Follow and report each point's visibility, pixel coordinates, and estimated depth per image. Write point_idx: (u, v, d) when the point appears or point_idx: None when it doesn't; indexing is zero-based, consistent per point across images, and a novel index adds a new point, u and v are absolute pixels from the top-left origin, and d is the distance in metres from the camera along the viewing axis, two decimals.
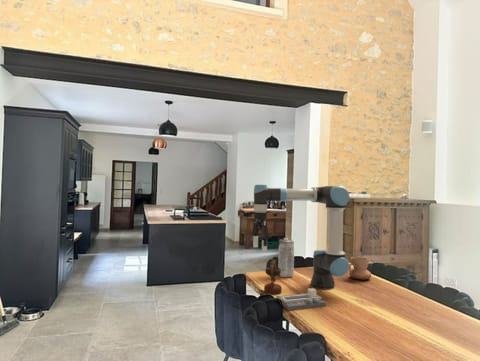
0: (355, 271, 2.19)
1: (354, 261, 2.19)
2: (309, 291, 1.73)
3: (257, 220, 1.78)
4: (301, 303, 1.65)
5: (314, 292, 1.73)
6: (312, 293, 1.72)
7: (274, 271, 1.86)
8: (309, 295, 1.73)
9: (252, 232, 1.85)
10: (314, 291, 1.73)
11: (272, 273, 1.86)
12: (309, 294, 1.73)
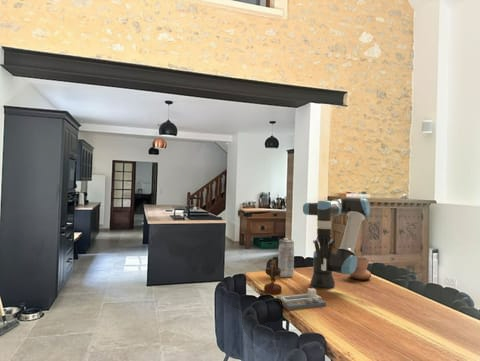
0: (355, 271, 2.19)
1: None
2: (309, 291, 1.73)
3: None
4: (301, 303, 1.65)
5: (314, 292, 1.73)
6: (312, 293, 1.72)
7: (274, 271, 1.86)
8: (309, 295, 1.73)
9: None
10: (314, 291, 1.73)
11: (272, 273, 1.86)
12: (309, 294, 1.73)
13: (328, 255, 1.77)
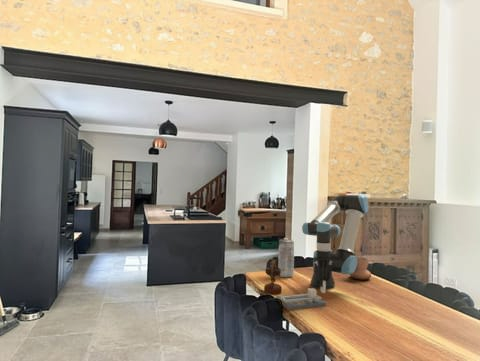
0: (355, 271, 2.19)
1: None
2: (309, 291, 1.73)
3: None
4: (301, 303, 1.65)
5: (314, 292, 1.73)
6: (312, 293, 1.72)
7: (274, 271, 1.86)
8: (309, 295, 1.73)
9: None
10: (314, 291, 1.73)
11: (272, 273, 1.86)
12: (309, 294, 1.73)
13: (327, 277, 1.76)
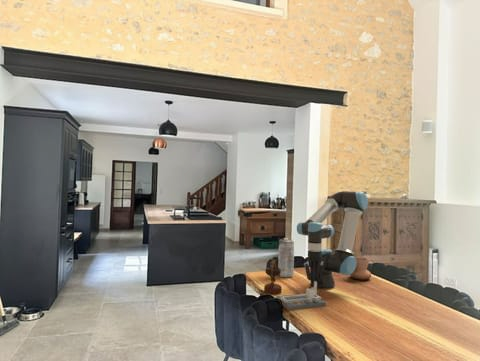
0: (355, 271, 2.19)
1: None
2: (307, 291, 1.73)
3: None
4: (301, 303, 1.65)
5: (313, 292, 1.72)
6: (310, 293, 1.72)
7: (274, 271, 1.86)
8: (307, 295, 1.73)
9: None
10: (312, 291, 1.72)
11: (272, 273, 1.86)
12: (308, 294, 1.73)
13: (319, 278, 1.75)
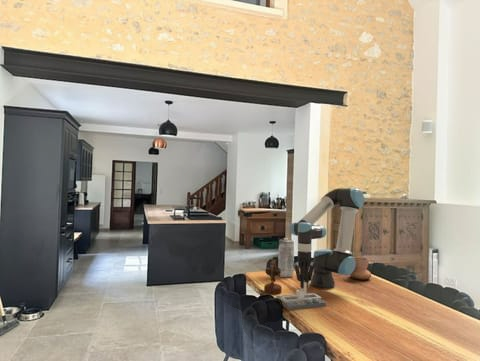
0: (355, 271, 2.19)
1: None
2: (297, 292, 1.71)
3: None
4: (301, 303, 1.65)
5: (303, 293, 1.70)
6: (300, 294, 1.70)
7: (274, 271, 1.86)
8: (297, 296, 1.71)
9: None
10: (302, 292, 1.70)
11: (272, 273, 1.86)
12: (297, 295, 1.71)
13: (308, 278, 1.73)
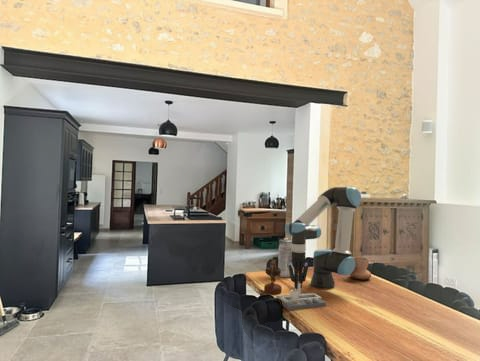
0: (355, 271, 2.19)
1: None
2: (291, 293, 1.70)
3: None
4: (301, 303, 1.65)
5: (297, 294, 1.69)
6: (294, 295, 1.69)
7: (274, 271, 1.86)
8: (291, 297, 1.70)
9: None
10: (296, 293, 1.69)
11: (272, 273, 1.86)
12: (291, 296, 1.70)
13: (303, 279, 1.72)
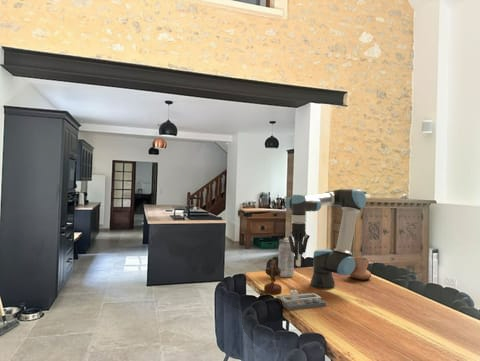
0: (355, 271, 2.19)
1: None
2: (291, 293, 1.70)
3: None
4: (301, 303, 1.65)
5: (297, 294, 1.69)
6: (294, 295, 1.69)
7: (274, 271, 1.86)
8: (291, 297, 1.70)
9: None
10: (296, 293, 1.69)
11: (272, 273, 1.86)
12: (291, 296, 1.70)
13: None
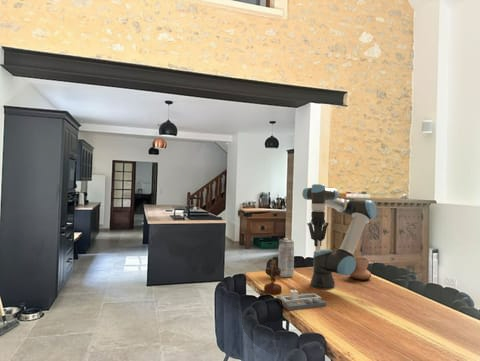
0: (355, 271, 2.19)
1: None
2: (291, 293, 1.70)
3: None
4: (301, 303, 1.65)
5: (297, 294, 1.69)
6: (294, 295, 1.69)
7: (274, 271, 1.86)
8: (291, 297, 1.70)
9: None
10: (296, 293, 1.69)
11: (272, 273, 1.86)
12: (291, 296, 1.70)
13: (322, 237, 1.81)
